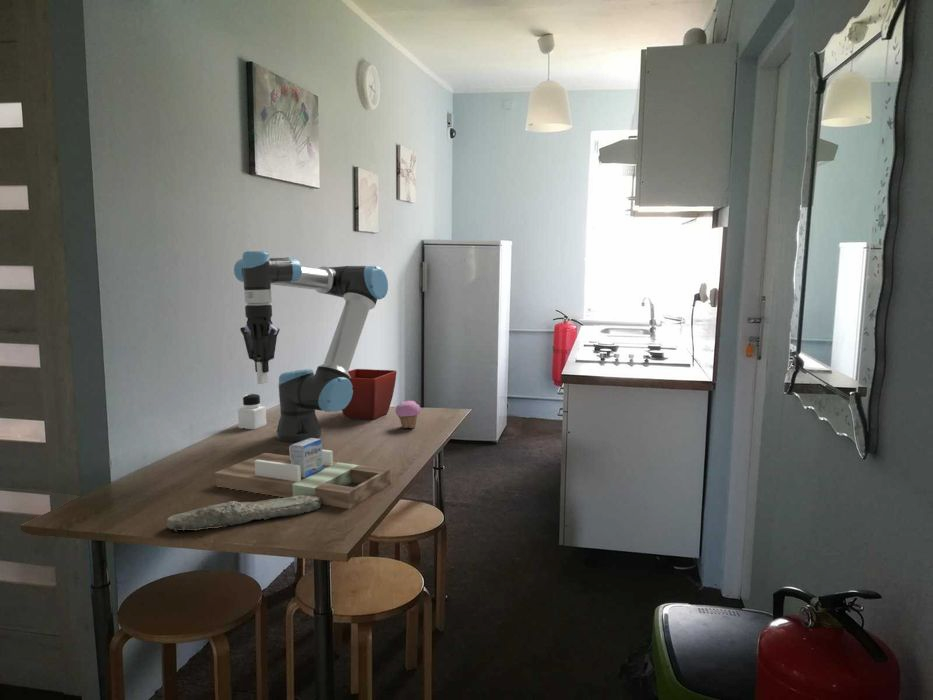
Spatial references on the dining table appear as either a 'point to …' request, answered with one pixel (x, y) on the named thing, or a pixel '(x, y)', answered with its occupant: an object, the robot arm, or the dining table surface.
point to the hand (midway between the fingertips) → (262, 383)
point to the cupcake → (408, 413)
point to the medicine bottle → (252, 413)
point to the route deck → (309, 481)
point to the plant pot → (370, 393)
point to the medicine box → (307, 456)
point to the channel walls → (286, 468)
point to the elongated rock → (242, 512)
